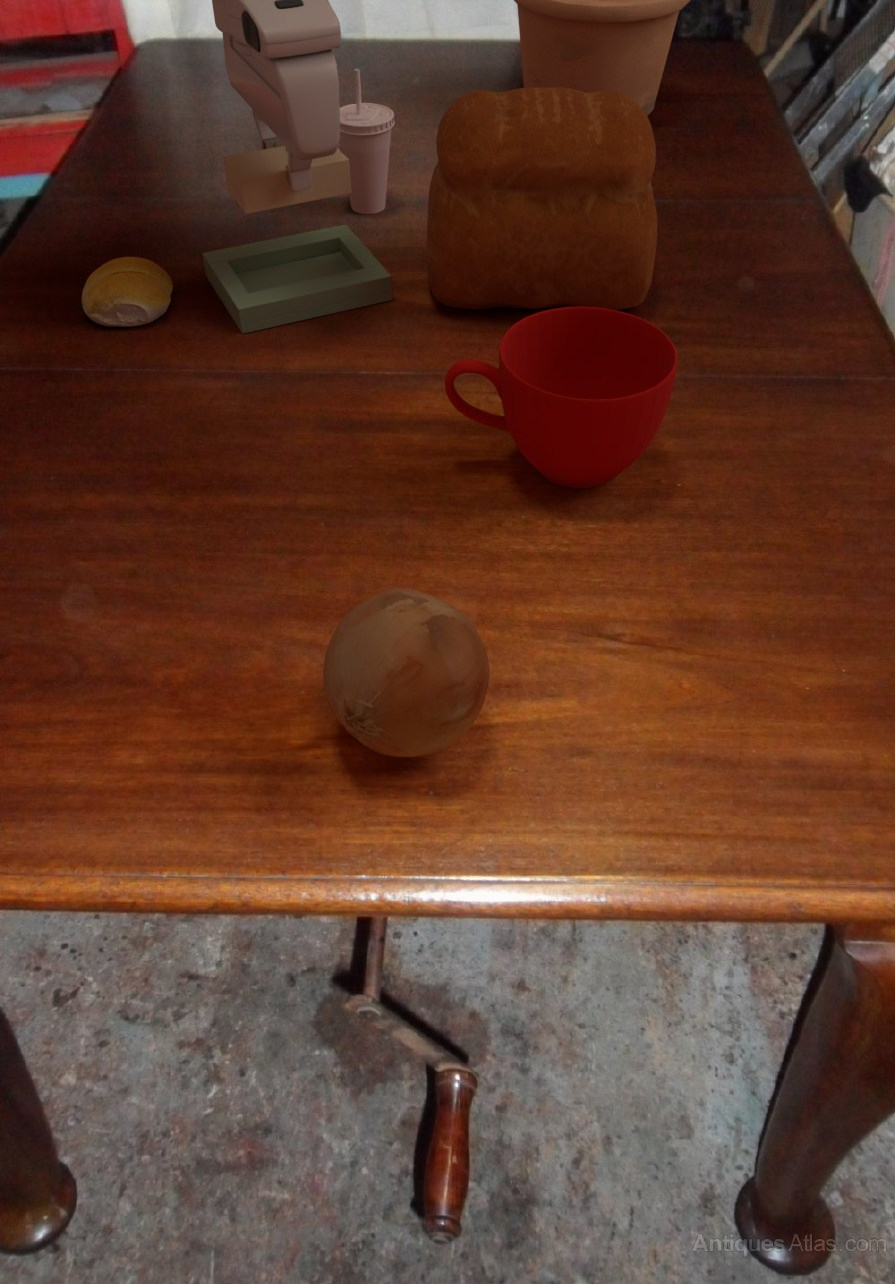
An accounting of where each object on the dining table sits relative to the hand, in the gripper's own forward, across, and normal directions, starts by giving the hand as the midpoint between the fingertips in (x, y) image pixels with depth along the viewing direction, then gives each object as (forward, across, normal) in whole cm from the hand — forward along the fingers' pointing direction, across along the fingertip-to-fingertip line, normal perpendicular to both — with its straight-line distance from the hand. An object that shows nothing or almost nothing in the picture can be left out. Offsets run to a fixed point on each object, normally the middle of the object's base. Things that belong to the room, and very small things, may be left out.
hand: (287, 173), depth 96 cm
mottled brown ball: (+11, +55, -12) cm, 57 cm away
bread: (+12, +8, +22) cm, 26 cm away
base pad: (+11, 0, 0) cm, 11 cm away
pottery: (+12, -30, +50) cm, 59 cm away
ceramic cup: (+12, +35, +9) cm, 38 cm away
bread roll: (+11, -3, -16) cm, 20 cm away
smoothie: (+11, -14, +13) cm, 22 cm away
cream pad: (+2, 0, 0) cm, 2 cm away
